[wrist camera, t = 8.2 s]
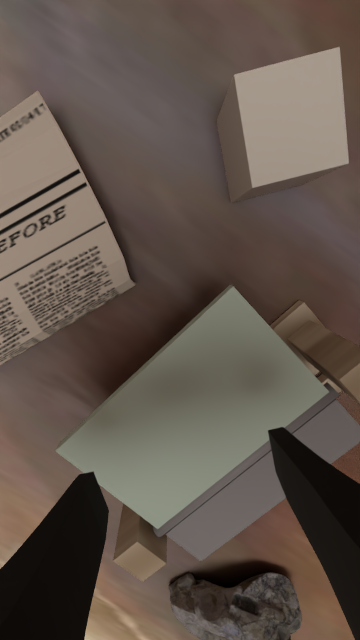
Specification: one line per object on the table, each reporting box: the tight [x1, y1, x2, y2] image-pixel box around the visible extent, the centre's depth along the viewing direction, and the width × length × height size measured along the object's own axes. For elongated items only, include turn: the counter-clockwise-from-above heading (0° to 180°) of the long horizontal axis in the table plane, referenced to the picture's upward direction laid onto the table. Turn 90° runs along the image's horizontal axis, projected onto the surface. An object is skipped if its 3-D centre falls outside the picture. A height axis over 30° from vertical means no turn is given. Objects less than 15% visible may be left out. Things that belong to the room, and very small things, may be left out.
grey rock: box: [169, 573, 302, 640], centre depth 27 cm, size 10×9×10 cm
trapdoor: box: [56, 285, 360, 561], centre depth 18 cm, size 12×14×4 cm
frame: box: [113, 300, 360, 582], centre depth 19 cm, size 8×19×7 cm, turn 134°
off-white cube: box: [216, 47, 349, 203], centre depth 16 cm, size 5×5×5 cm
